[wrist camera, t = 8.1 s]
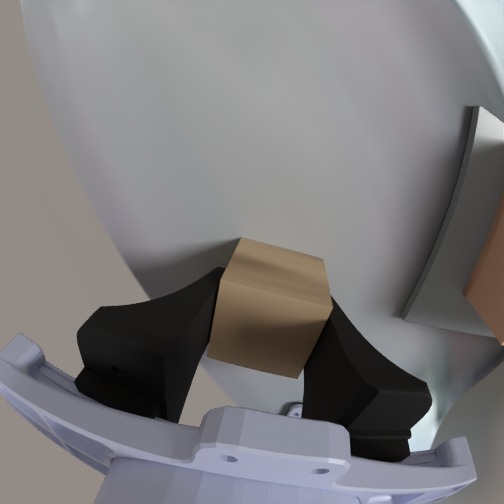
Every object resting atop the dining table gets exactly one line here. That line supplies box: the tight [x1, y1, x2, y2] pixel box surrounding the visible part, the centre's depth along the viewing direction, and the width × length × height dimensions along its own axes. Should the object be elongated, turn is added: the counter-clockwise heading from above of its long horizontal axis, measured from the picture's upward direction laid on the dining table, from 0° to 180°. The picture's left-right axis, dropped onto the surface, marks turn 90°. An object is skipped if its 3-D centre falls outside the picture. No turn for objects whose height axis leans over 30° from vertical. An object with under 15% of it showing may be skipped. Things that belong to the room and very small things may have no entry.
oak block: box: [207, 238, 333, 379], centre depth 12 cm, size 4×4×4 cm
